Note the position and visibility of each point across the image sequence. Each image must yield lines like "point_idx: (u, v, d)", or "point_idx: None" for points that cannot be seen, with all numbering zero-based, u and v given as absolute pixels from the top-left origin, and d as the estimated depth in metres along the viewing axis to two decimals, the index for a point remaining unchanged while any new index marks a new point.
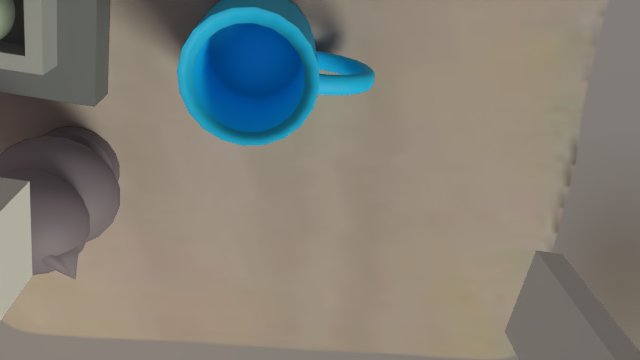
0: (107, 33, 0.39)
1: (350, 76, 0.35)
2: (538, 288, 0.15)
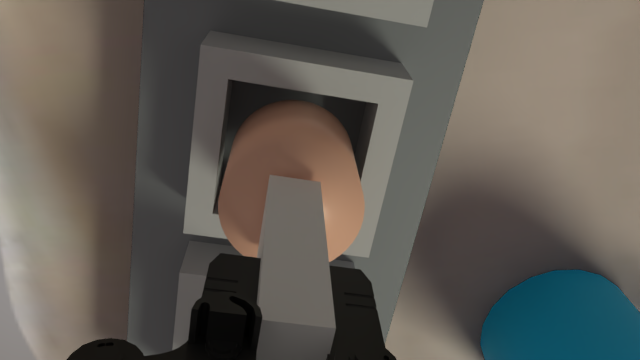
0: None
1: None
2: None
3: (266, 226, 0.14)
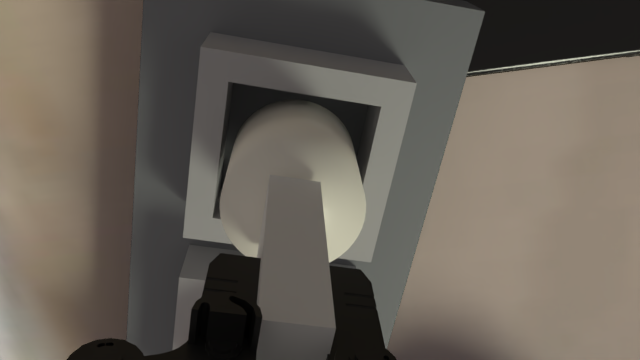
0: None
1: None
2: None
3: (266, 226, 0.14)
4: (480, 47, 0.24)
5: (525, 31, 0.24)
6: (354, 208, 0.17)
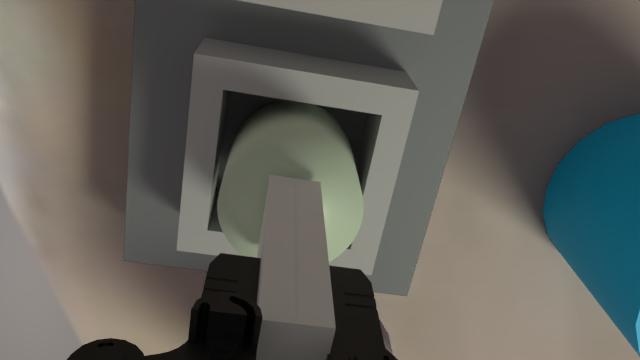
0: None
1: None
2: None
3: (266, 226, 0.14)
4: None
5: None
6: None
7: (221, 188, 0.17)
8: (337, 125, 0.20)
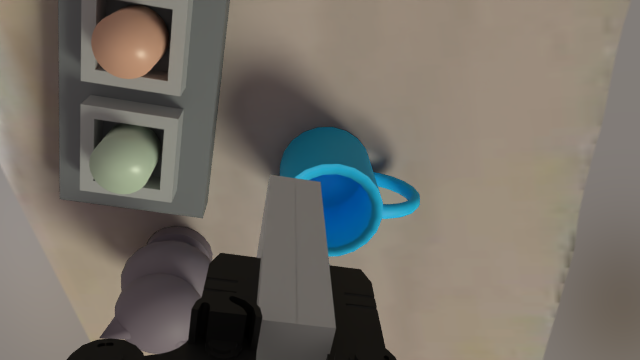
0: (211, 160, 0.51)
1: (404, 204, 0.47)
2: None
3: (266, 226, 0.14)
4: None
5: None
6: None
7: (90, 158, 0.42)
8: (149, 132, 0.45)
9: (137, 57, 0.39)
